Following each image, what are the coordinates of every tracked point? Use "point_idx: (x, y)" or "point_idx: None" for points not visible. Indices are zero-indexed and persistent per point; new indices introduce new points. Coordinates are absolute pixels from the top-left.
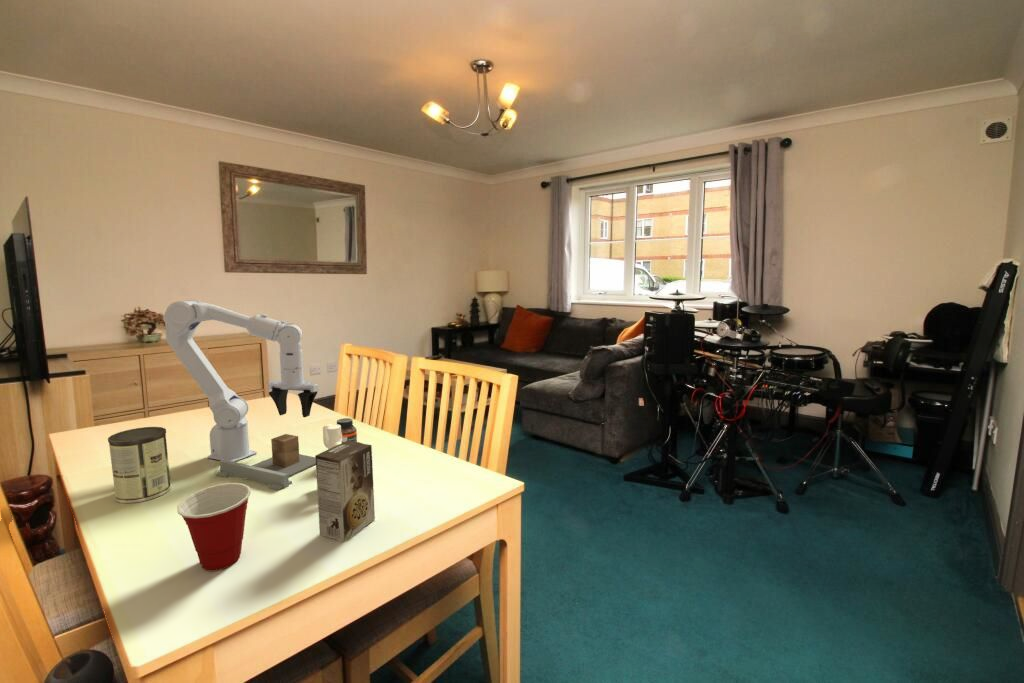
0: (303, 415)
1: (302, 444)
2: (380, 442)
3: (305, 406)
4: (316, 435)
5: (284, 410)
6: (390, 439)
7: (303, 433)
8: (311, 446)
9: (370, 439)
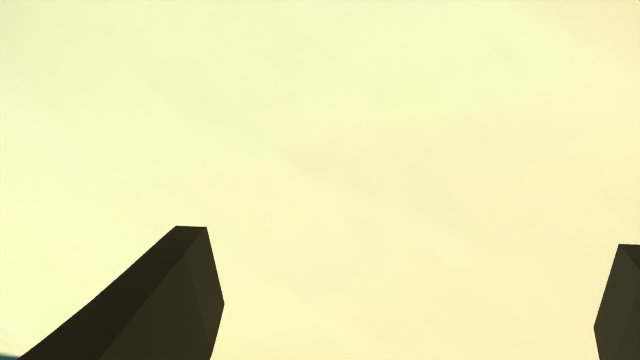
0: (176, 238)
1: (457, 181)
2: (17, 288)
3: (34, 352)
4: (470, 329)
5: (616, 350)
6: (12, 328)
7: (587, 347)
8: (360, 161)
9: None
